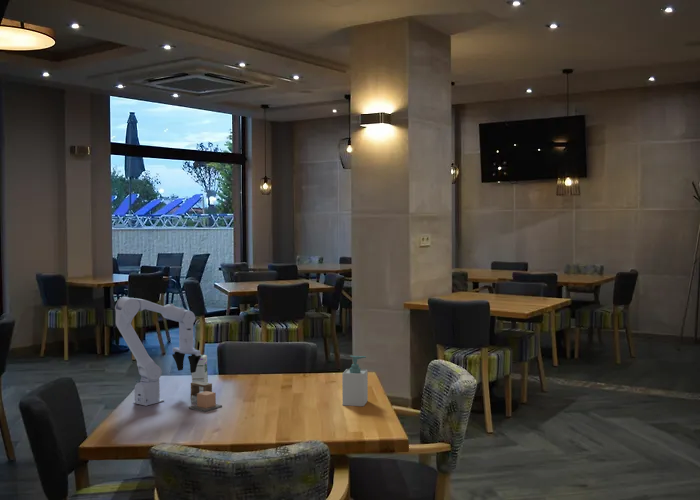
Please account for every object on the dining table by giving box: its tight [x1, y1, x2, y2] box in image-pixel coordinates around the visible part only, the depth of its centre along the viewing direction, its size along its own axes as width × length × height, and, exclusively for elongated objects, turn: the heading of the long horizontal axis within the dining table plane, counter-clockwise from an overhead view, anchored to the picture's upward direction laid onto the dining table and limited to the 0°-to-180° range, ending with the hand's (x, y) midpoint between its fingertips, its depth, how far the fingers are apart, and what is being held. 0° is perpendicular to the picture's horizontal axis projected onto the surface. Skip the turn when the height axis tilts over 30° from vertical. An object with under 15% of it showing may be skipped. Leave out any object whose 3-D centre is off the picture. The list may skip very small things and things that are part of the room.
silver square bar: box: [190, 390, 203, 404], centre depth 294 cm, size 10×3×3 cm, turn 165°
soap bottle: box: [341, 355, 369, 407], centre depth 287 cm, size 9×9×19 cm
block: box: [196, 391, 217, 408], centre depth 282 cm, size 5×5×5 cm
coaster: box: [188, 403, 223, 413], centre depth 282 cm, size 9×9×1 cm
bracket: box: [190, 381, 213, 397], centre depth 294 cm, size 4×8×7 cm, turn 56°
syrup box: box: [191, 354, 209, 391], centre depth 313 cm, size 6×6×14 cm
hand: (186, 371), depth 300 cm, fingers open, 7 cm apart
